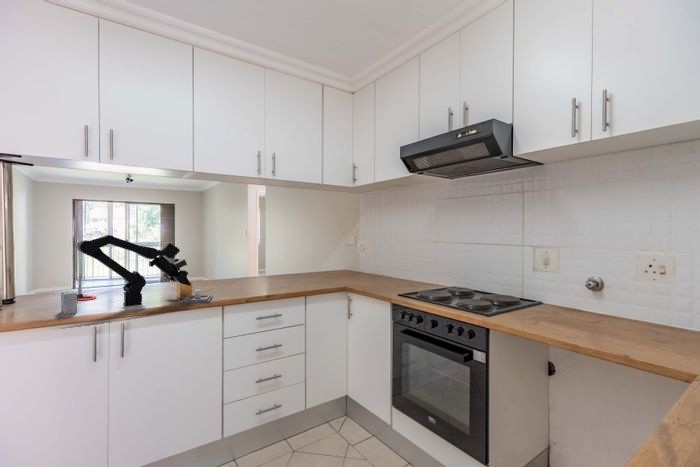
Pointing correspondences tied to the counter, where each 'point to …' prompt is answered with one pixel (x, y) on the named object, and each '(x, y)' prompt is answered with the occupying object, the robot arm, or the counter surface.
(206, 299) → the post plate
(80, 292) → the tow hook
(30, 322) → the counter surface
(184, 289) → the orange wooden block
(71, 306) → the medicine box
